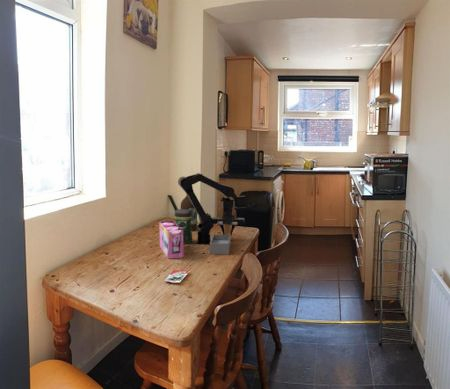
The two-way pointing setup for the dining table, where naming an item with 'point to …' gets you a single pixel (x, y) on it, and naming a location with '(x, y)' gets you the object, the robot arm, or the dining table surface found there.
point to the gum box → (171, 239)
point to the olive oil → (188, 205)
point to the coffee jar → (184, 223)
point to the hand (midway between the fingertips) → (227, 235)
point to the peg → (227, 230)
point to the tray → (220, 244)
